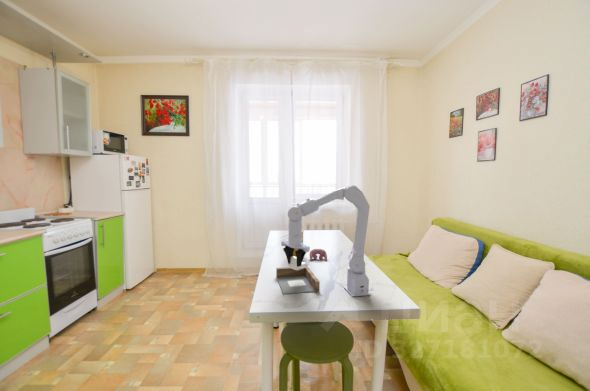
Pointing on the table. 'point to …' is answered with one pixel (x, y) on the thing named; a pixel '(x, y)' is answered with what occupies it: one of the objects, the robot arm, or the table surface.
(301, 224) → the robot arm
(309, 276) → the corner walls
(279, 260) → the table surface
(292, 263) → the aluminium bracket
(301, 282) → the mat
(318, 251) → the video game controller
